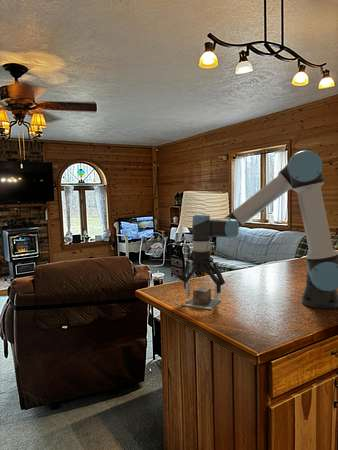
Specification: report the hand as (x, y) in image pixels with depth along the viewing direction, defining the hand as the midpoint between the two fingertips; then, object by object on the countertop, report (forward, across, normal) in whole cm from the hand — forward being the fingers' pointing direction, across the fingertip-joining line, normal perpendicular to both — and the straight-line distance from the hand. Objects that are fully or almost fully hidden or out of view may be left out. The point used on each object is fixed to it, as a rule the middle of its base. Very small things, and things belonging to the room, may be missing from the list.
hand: (202, 298), depth 147 cm
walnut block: (+2, 0, 0) cm, 2 cm away
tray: (+3, 0, 0) cm, 3 cm away
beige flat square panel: (+3, -10, 0) cm, 10 cm away
